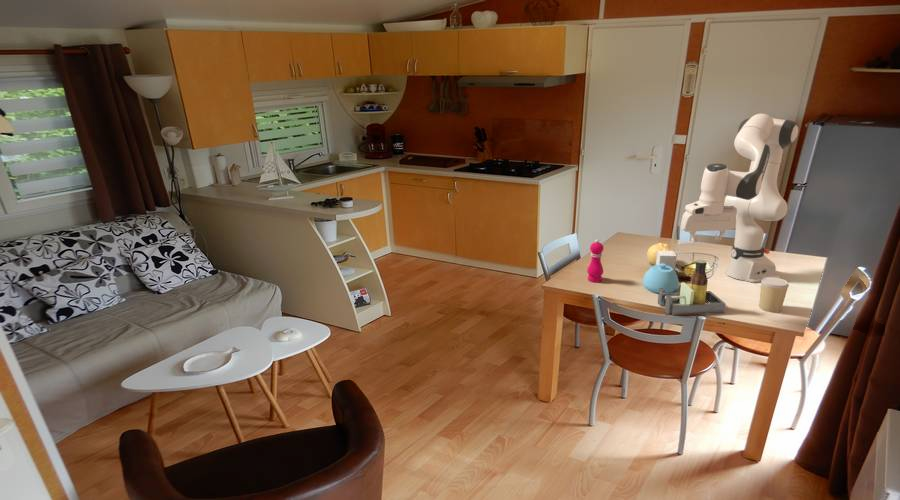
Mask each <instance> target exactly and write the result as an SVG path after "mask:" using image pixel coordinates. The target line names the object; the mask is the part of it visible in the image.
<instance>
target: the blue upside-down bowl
mask: <svg viewBox="0 0 900 500" xmlns="http://www.w3.org/2000/svg"><path fill="white" fill-rule="evenodd" d="M642 285H643V286H644V288H645V289H646V290H647V289H648V290H647V291H649V292H651V291H652V292H651V293H654V292H655V293H654V294H659V288H663V289H664V290H665V293H675V292H676V291H677V290H678V289H679V287H680V281H679V278H678V274H677V273H676V270H675V271H674V270H673V268H672V267H670V266H667V265H666V264H664V263H660V264H659V265H652V266H651V267H650V268H648V270H647V271H646V272H645V274H644V276H643V279H642Z"/></svg>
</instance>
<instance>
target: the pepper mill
mask: <svg viewBox="0 0 900 500" xmlns="http://www.w3.org/2000/svg"><path fill="white" fill-rule="evenodd" d="M604 248H605V247H604V244H602V243H601V242H600V240H599V239H595V241H594V242H593V243H591V244H590V247H589V250H590V256H591V261H590V264H589V265H588V267H587V269H586V270H587V271H586V272H587V275H588V276H587V280H588V281H589V282H591V283H601V281H603V280H602V278H603V274H604V267H603V265H602V262H601V258H602V256H603V252H604Z"/></svg>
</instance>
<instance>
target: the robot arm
mask: <svg viewBox="0 0 900 500" xmlns="http://www.w3.org/2000/svg"><path fill="white" fill-rule="evenodd" d="M798 134H799V124H798V123H797V121H795V120H791V119H781V118H774V117H771V116H770V115H769V114H766V113H757V114H754V115H753V116H751V117H750V118H746V119H743V121H741V122H740V124H739V125H738V128H737V134H736V136H735V138H734V142H733V145H734V149H735V150H736V152H737V153H738V154H739V155H740V156H742V157H743V158H746V159H748V160H751V161H750V165H749V168H748V169H749V170H748V171H738V170H729V169H728V166H727V164H723V163H711V164H708V165H707V166H705V168H704V170H703V174H702V179H701V183H700V195H699V196H698V197H699V198H698V200H696V201H695V202H691V203H689V204H685V206H684V210H685V211H684V213H683V214H682V217H681V223H680V228H681V230H682V231H684V232H686V233H688V232H689V234H690V236H691V242H693V243H697V242H698V237H697V236H696V235H695V234H696V232H711V231H712V232H713V231H714V232H715V231H719V232H718V234H717V235H715V238H714V240H715V241H716V242H721V241H722V237H723V236H724V235H725V233H726V231H730V230H731V231H732V230H735V234H734V243H733V244H732V247H731V257H730V261H729V262H728V266H727V268H726V270H725V274H726V275H727V276H729V277H731V278H734V279H736V280H740V281H746V282H749V283H753V284H755V283H761V280H762V279H763V278H765V277H776V278H781V275H780V273H778V271H777V270H776V264H775V263H774V262H773V261H772V260H771V259H769V258H768V257H767V256H766V255H768V254H769V255H770V249H768V248H764V247H763V242H764V241H763V240H764V237H765V236H764V235H765V233H764V230H763V228H762V227H761V226H760V225H758V224H757V223H756V221H755V219H757V220H761V221H765V222H766V221H768V222H769V221H770V222H779V221H780V220H782V219H783V218H784V217H785V216H786V214H787V212H788V204H787V201H786V200H785V199H784V198H783V197H782V195H781V194H780V192H779V188H778V177H779V176H778V175H779V171H780V168H781V163H782V159H783V152H784V149H785V148H787V147H789V146H790V145H792V144H793V143H794V142H795V140H797V139H796V138H797V137H798ZM765 254H766V255H765Z"/></svg>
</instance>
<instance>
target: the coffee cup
mask: <svg viewBox="0 0 900 500" xmlns="http://www.w3.org/2000/svg"><path fill="white" fill-rule="evenodd" d="M760 283H761V285H760V290H759V291H760V292H759V303H758V307H759V309H760V310H762V311H764V312H768V313H775V314H776V313H779V312H781V311H782V308H783V307H784V302H785V299H786V296H787V291H788V289H789V287H790V286H789V282H788V281H787V280H786V279H783V278H781V277H780V278H776V277H765V278H763V279H762V280H761V282H760Z"/></svg>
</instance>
